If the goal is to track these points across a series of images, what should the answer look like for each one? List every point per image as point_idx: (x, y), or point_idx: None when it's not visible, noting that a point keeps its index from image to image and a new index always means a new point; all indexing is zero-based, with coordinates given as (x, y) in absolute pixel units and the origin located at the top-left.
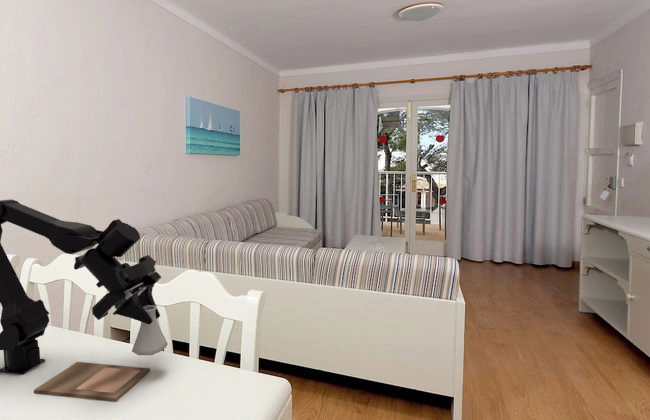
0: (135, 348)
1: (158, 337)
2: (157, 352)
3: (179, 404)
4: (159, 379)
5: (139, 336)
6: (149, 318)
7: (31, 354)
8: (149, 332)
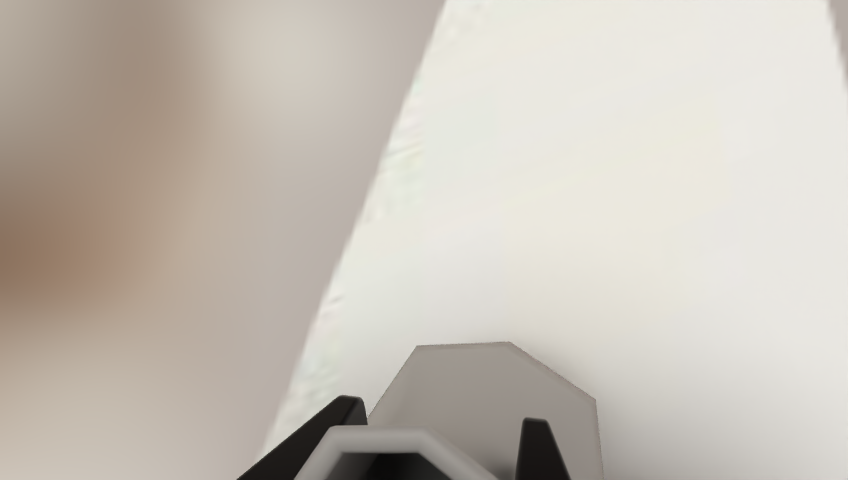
0: None
1: (497, 375)
2: (550, 370)
3: (773, 168)
4: None
5: None
6: (555, 456)
7: None
8: None
